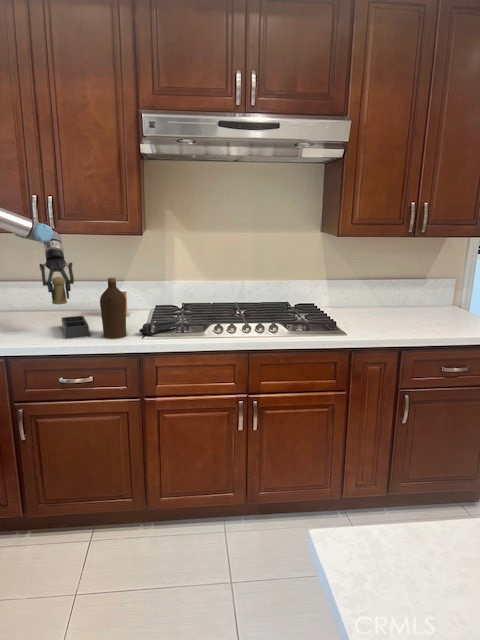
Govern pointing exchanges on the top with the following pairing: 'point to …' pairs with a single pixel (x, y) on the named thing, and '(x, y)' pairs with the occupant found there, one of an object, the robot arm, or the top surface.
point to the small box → (125, 297)
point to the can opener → (150, 327)
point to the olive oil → (113, 311)
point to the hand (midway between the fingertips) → (60, 297)
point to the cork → (59, 291)
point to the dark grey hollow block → (75, 327)
